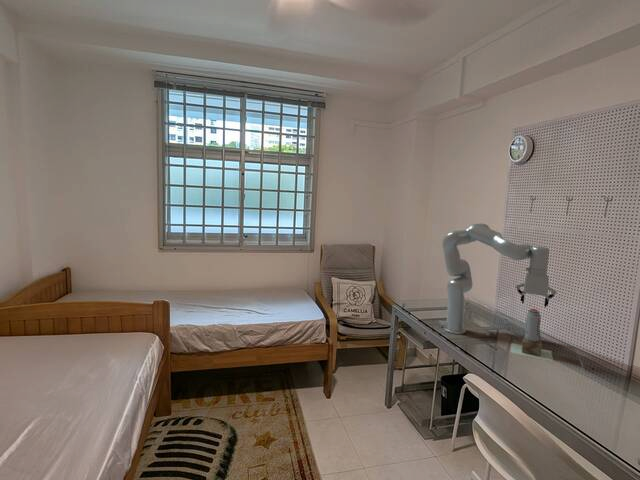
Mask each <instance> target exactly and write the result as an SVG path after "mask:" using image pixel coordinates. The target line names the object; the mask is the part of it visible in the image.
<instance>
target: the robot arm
mask: <svg viewBox="0 0 640 480" xmlns="http://www.w3.org/2000/svg"><path fill="white" fill-rule="evenodd" d="M476 241H478V242H480V243H482V244H485V245H487V246H489V247H491V248H493V250H495V251H496V252H498V253H499V254H501V255H503V256H505V257H508V258H509V259H512V260H515V261H522V260H527V259H529V265H528V267H525V271H527V273H526V275H525V279H524V283H520V284H516V285H515V288H516V290H517V292H518V293H519V294H520V302H521V303H522V304H524V303H525V295H526V294H528V295H529V294H530V295H537V296H544V297H545V298H544V308H547V306H549V301H550V299H552V298H554V297H555V295H556V294H557V293H558V292H557V290H555V289H554V288H552V287H550V283H549V282H550V278H549V275H548V274H547V273H548V264H549V258H550V248H549V247H545V246H538V245H537V246H535V245H531V244H527V243H521V244H516V243H514V242H511V241H510V240H507V239H506V238H504V237H503V235H502V233H500V232H498V231H496V230H494V229H491V227H490V226H489V225H488V224H486V223H482V222H480V223H474V224H473V223H472V225H470V226H469V227H468V228H465V229H461V230H453V231H451V232H449V233H447V234H445V236H444V237H443V239H442V249H443V255H444V261H445V266H446V267H445V268H446V272H447V275H448V276H451V277H455V278H452V279H450V281H448V283H447V285H446V292H447V294H446V295H447V309H446V310H447V311H446V320H438V324H439V325H441V326H443V330H444V331H445V332H448V333H451V334H456V335H461V334H465V333H466V332H467V329H466V328H465V327H464V321H465V320H464V319H465V308H466V307H465V304H466V303H465V302H466V301H465V300H466V299H465V296H464V295H465V293H467V292H469V291H471V290H472V288H473V279H472V273H471V271H472V270H471V267H470V264H469V262H468V260H467V261H466V260H465V259H463V258H461V255H460V253H461V252H460V251H459V249H458V246H461V245H467V244H470V243H472V242H476ZM521 288H523V291H522V290H521ZM549 291H550V292H551V293H550V294H549Z"/></svg>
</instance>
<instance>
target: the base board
mask: <svg viewBox="0 0 640 480" xmlns="http://www.w3.org/2000/svg"><path fill="white" fill-rule="evenodd" d="M510 353H511V354H517V355H521V356H525V357H531V358H536V359H540V360H546V361H551V362H554V358H553V352H552V350H548V349H543V348H541V357H540V356H535V355H530V354H526V353H522V344H518V343H513V342H511V344H510Z"/></svg>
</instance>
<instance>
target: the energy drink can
mask: <svg viewBox="0 0 640 480" xmlns="http://www.w3.org/2000/svg"><path fill="white" fill-rule="evenodd" d="M538 311H539V310H538ZM538 311H534V310H531V309H529V310H528V311H527V313H526V318H525V332H524V336H525V338H526V340H527V341H530V342H537V341H538V340H539V333H540V332H541V330H540V328H541V320H542V319H541V317H542V315H541V313H540V311H539V312H538ZM539 331H540V332H539Z"/></svg>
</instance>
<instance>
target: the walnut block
mask: <svg viewBox="0 0 640 480" xmlns="http://www.w3.org/2000/svg"><path fill="white" fill-rule="evenodd" d="M521 343H522V344H521V345H522V353H526V354H530V355H535V356H540V357H541V349H543V348H542V347H543V346H542V345H543V343H542V339H539V340H538V341H537V342H530V341H527V340H526V338H525V335H523V336H522V342H521Z"/></svg>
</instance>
